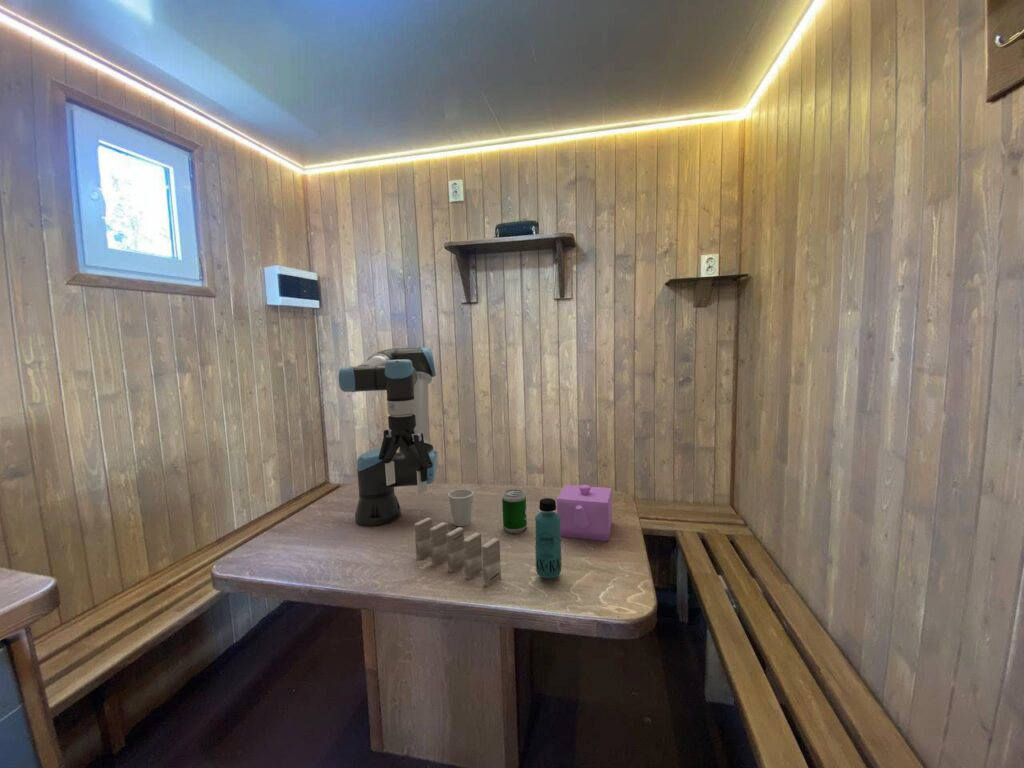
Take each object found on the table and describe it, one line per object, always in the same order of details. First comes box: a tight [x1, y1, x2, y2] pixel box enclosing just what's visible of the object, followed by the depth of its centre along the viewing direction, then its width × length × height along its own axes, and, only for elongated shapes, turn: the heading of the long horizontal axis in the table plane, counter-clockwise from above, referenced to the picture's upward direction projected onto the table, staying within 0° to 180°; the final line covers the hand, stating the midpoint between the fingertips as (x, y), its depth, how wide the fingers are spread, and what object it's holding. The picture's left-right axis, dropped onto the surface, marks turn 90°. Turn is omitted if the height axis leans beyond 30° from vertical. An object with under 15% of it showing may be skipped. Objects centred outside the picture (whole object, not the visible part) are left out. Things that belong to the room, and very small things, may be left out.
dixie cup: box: [447, 488, 474, 527], centre depth 139 cm, size 8×8×10 cm
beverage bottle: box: [534, 497, 563, 579], centre depth 105 cm, size 6×7×20 cm
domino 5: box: [482, 537, 502, 588], centre depth 104 cm, size 2×5×10 cm, turn 144°
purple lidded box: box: [556, 484, 613, 542], centre depth 130 cm, size 15×25×14 cm, turn 162°
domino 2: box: [430, 521, 449, 567], centre depth 115 cm, size 2×5×10 cm, turn 145°
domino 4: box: [463, 532, 483, 581], centre depth 108 cm, size 2×5×10 cm, turn 144°
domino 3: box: [446, 526, 465, 574], centre depth 111 cm, size 2×5×10 cm, turn 145°
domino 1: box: [414, 517, 433, 561], centre depth 118 cm, size 2×5×10 cm, turn 145°
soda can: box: [501, 488, 528, 534], centre depth 133 cm, size 8×8×12 cm
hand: (406, 488), depth 121 cm, fingers open, 12 cm apart
